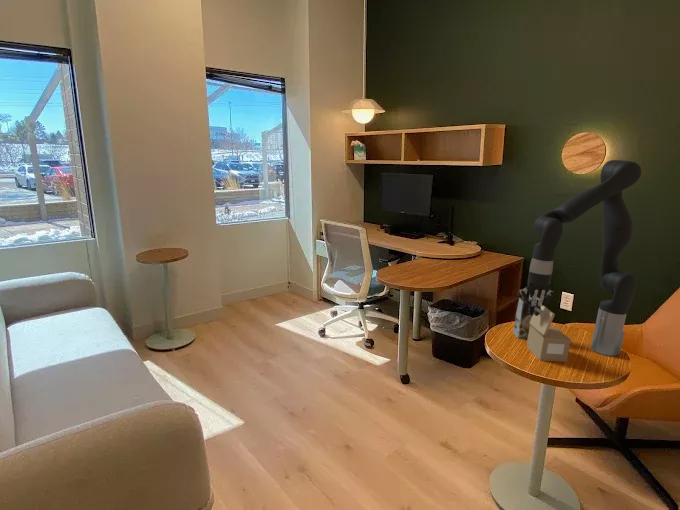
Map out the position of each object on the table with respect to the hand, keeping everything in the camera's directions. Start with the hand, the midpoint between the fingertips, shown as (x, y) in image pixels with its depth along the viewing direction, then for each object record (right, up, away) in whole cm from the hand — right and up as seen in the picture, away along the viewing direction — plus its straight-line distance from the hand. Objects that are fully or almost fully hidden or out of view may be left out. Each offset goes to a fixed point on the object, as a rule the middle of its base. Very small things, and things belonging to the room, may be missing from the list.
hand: (533, 314), depth 157 cm
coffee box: (+6, -12, +19) cm, 23 cm away
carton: (+6, -16, +4) cm, 17 cm away
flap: (+4, -2, 0) cm, 4 cm away
